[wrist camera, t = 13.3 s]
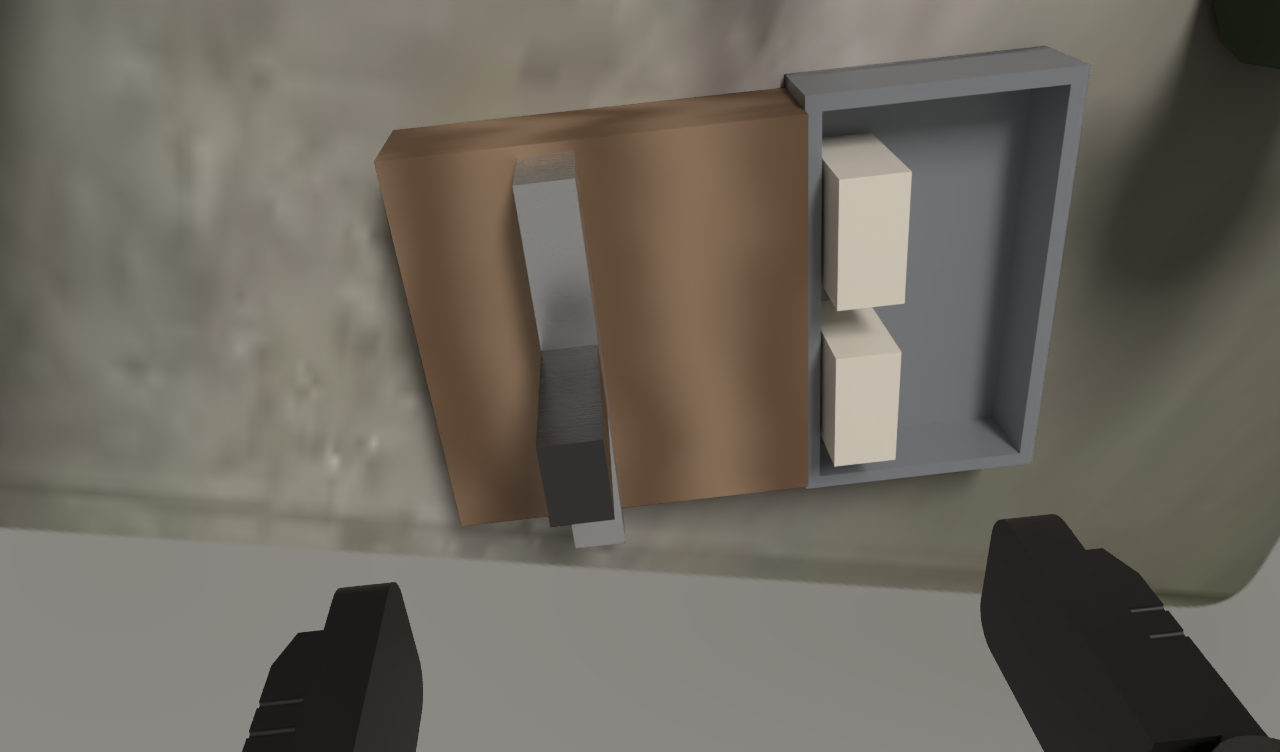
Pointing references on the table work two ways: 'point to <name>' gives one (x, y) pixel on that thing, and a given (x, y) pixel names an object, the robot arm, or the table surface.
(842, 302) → the cream tile
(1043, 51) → the box
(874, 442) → the cream tile
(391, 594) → the robot arm
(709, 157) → the walnut plate
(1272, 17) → the character mug
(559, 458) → the bar
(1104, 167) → the table surface
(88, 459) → the table surface
